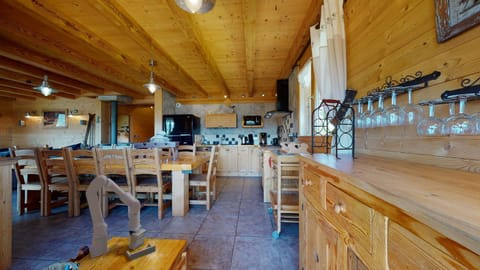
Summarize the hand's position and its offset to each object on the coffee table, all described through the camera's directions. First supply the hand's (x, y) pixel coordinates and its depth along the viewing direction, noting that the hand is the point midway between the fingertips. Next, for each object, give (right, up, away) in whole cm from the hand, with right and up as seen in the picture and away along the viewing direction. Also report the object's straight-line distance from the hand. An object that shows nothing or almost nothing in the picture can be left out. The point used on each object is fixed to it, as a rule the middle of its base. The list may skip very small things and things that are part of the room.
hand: (134, 242), depth 116 cm
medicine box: (+3, -1, -3) cm, 5 cm away
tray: (+10, 0, -10) cm, 14 cm away
